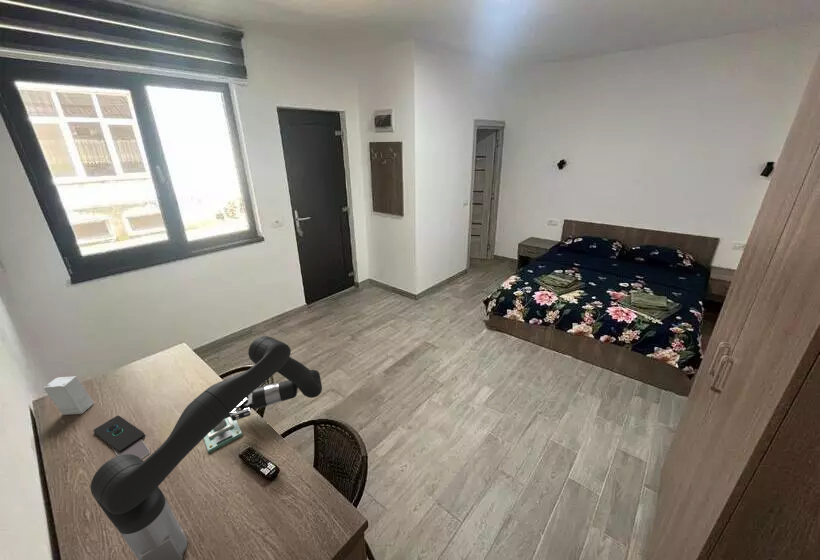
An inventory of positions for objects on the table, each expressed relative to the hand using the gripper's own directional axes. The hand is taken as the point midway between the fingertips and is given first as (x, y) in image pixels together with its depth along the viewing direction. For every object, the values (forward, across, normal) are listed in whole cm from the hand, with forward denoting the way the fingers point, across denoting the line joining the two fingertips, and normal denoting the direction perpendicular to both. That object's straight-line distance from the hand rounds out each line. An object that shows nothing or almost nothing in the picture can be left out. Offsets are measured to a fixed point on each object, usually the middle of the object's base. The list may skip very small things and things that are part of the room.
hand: (220, 407), depth 117 cm
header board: (+2, 0, +9) cm, 9 cm away
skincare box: (+59, -33, +9) cm, 68 cm away
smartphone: (+30, -2, +10) cm, 32 cm away
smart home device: (+37, -11, +10) cm, 40 cm away
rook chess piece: (+2, 0, +8) cm, 8 cm away
